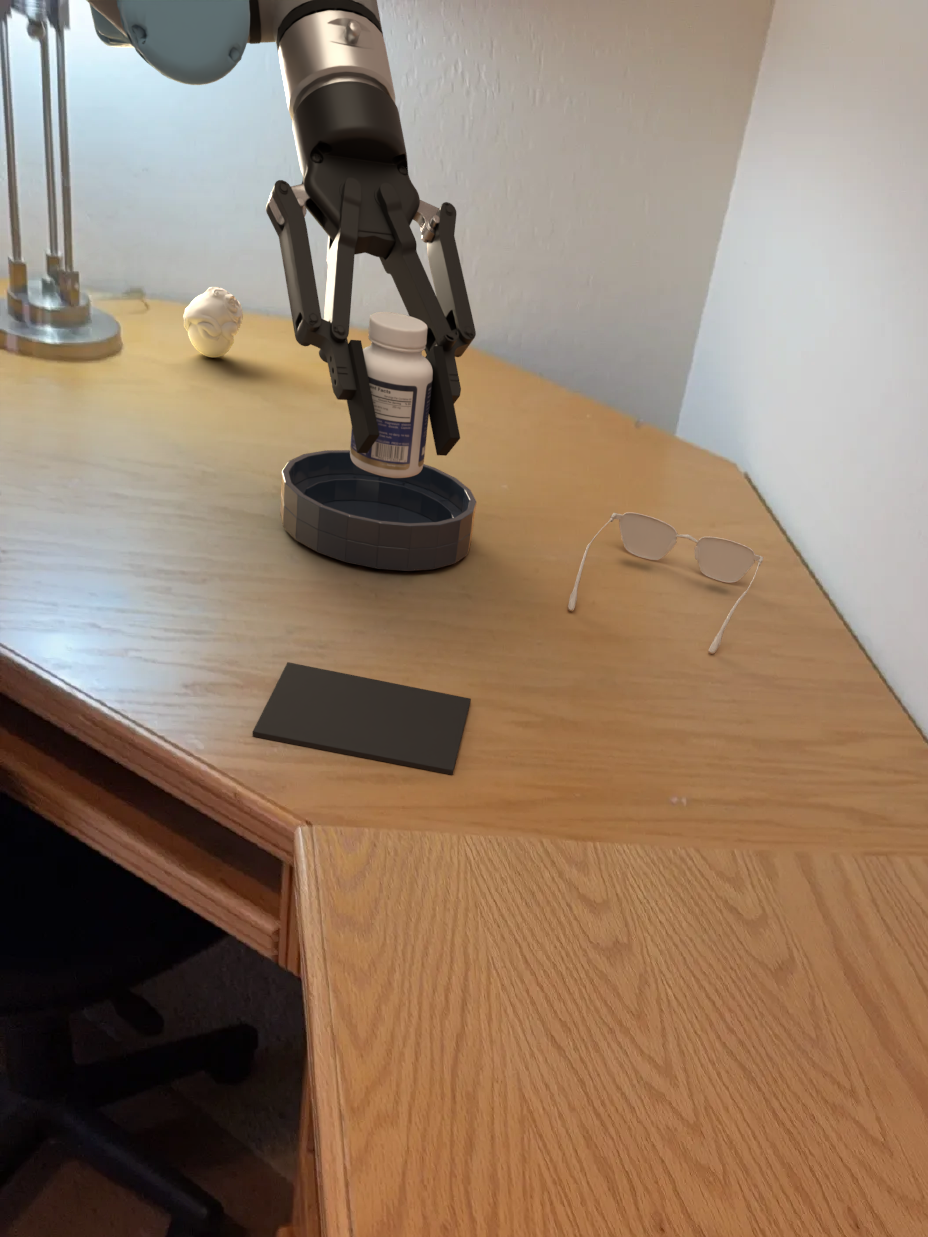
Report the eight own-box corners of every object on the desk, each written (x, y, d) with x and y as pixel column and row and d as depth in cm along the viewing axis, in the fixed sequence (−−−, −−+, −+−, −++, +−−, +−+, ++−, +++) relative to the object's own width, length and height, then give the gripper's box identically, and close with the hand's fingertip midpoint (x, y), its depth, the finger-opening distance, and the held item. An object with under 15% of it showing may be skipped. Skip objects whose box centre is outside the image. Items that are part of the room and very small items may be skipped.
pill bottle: (382, 447, 97) (395, 305, 91) (437, 472, 96) (454, 330, 89) (333, 458, 94) (343, 310, 87) (389, 484, 92) (403, 336, 85)
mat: (252, 736, 88) (252, 731, 88) (287, 666, 97) (287, 661, 96) (452, 775, 90) (453, 770, 90) (470, 703, 98) (471, 698, 98)
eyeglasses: (754, 590, 126) (766, 550, 124) (722, 659, 113) (734, 616, 110) (606, 546, 127) (615, 505, 125) (557, 609, 114) (565, 565, 111)
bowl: (261, 550, 111) (262, 498, 108) (303, 484, 124) (305, 436, 121) (457, 591, 113) (463, 541, 110) (478, 522, 126) (484, 475, 123)
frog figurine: (254, 362, 149) (255, 295, 144) (205, 367, 144) (205, 298, 139) (219, 345, 151) (219, 279, 146) (170, 349, 146) (169, 281, 142)
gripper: (224, 51, 82) (296, 414, 83) (484, 97, 91) (546, 425, 91) (201, 131, 89) (268, 466, 90) (445, 166, 97) (503, 472, 98)
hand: (408, 445), depth 91 cm, fingers closed on pill bottle, 5 cm apart
